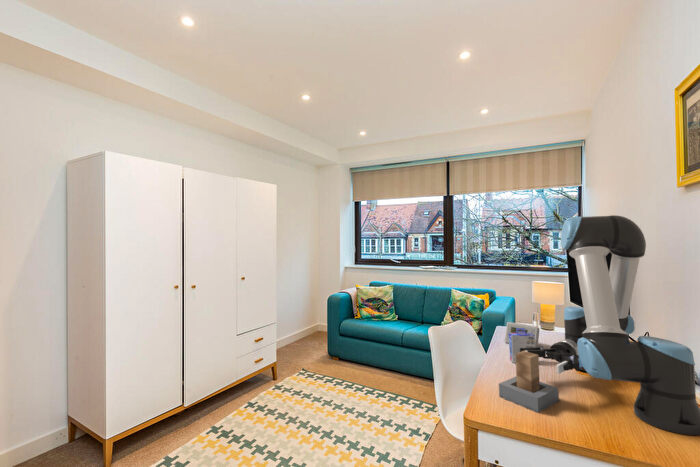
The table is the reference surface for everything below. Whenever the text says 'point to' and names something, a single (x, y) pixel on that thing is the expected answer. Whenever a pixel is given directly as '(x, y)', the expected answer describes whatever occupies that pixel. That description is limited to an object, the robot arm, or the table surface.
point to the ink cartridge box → (520, 342)
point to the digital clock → (528, 329)
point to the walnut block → (527, 371)
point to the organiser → (529, 395)
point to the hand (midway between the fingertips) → (536, 363)
